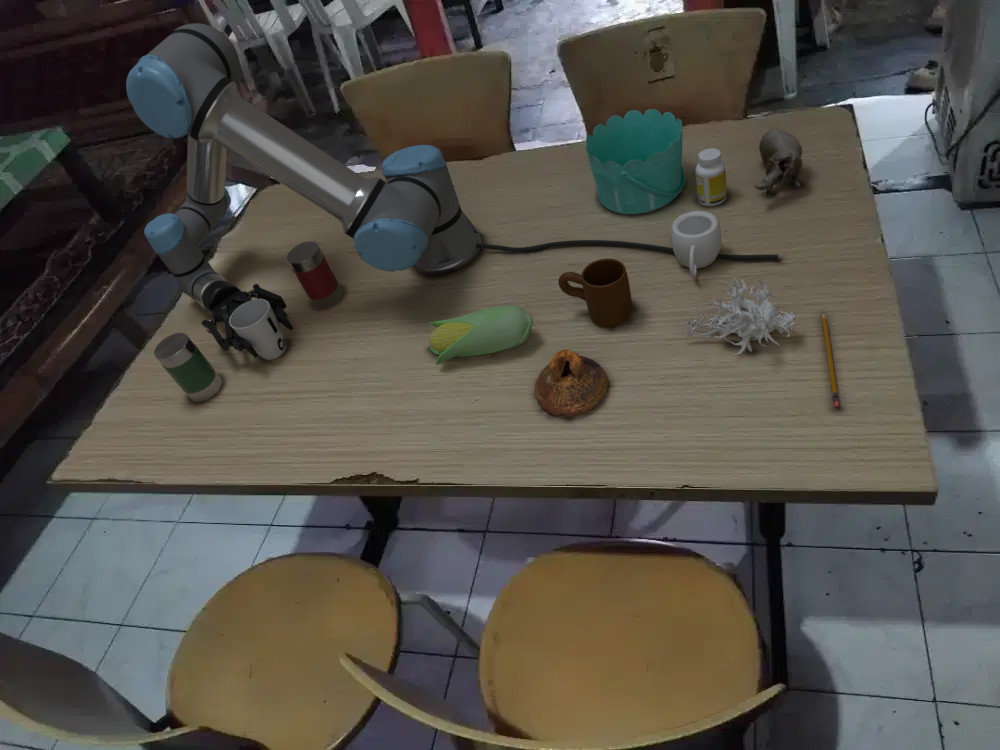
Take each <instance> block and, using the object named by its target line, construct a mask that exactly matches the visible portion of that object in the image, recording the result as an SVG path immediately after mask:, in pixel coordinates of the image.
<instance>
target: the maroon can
mask: <svg viewBox="0 0 1000 750" xmlns="http://www.w3.org/2000/svg"><path fill="white" fill-rule="evenodd" d="M286 260H287V262H288V264H289V266H290V267H291V269H292V272H293V273H294V275H295V277H296V279H297V280H298V282H299V284H300V286H301V287H302V289H303V290H304V292H305V294H306V296H307V297H308V299H309V300H310V302H311V304H312V305H313V306H314V307H315V308H316V309H327V308H330V307H332V306H334V305H336V304H337V303H338V302H339V301H340V300H341V299H342V297H343V289H342V288H341V286H340V284H339V281H338V279H337V277H336V275H335V273H334V271H333V269H332V267H331V265H330V264H329V262H328V260H327V258H326V256H325V255H324V253H323V252H322V249H321V248H320V246H319V244H318V243H317V242H315V241H305V242H302V243H299V244H297V245H296V246H294V247H292V248H291V249H290V251H288V253H287V255H286Z"/></svg>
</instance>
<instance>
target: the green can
mask: <svg viewBox="0 0 1000 750" xmlns="http://www.w3.org/2000/svg"><path fill="white" fill-rule="evenodd" d="M153 355H154V357H155V358H156V359H157V360H158V362H159V363H160V364H161V366H162V367H163V368H164V370H165V371H166V372H167V374H169V376H170V377H171V378H172V380H173V381H174V382H175V383H176V384H177V386H179V387H180V389H181V390H182V391H183V392H184V393H185V394H186V395H187V396H188V397H189V399H190V400H191V401H192V402H195V403H196V402H197V403H201V402H205V401H207V400H209V399H212V397H214V396H215V395H217V394H218V392H219V391H220V389H221V388H222V385H223V380H222V378H221V377H220V375H219V374H218V373H217V371H216V370H215V369H214V367H213V366H212V364H211V363H210V362H209V360H208V359H207V358H206V356H205V355H204V354H203V353H202V351H201V350H200V349H199V347H198V346H197V345H196V344H195V343H194V342H193V341H192V340H191V338H190V337H189V336H188V335H187V333H184V332H177V333H173V334H170V335H168V336H167V337H165V338H163V339H161V341H160V342H159V343H157V345H156V346H155V348H154V351H153Z"/></svg>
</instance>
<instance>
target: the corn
mask: <svg viewBox="0 0 1000 750" xmlns="http://www.w3.org/2000/svg"><path fill="white" fill-rule="evenodd" d="M428 324H429V325H431V326H433V327H436V328H435V329H434V330H433V331H432V332H431V333H430V335H429V338H428V341H429V343H430V347H429V350H430V352H432V353H433V354H434V355H437V356H438V357H437V360H436V363H435V364H436V366H438V365H441V364H443V363H445V362H447V361H448V360H450V359H453V358H455V357H457V356H458V357H469V356H479V355H480V356H481V355H489V354H493V353H499V352H504V351H507V350H510V349H514V348H516V347H518V346H521V345H522V344H524V343H526V342H527V340H528V339H529V337H530V335H531V331H532V328H533V325H534V319H533V317H532V315H530V314H529V313H528V311H527V310H526V309H525V308H524V307H521V306H519V305H513V304H508V305H500V306H499V305H498V306H493V307H487V308H484V309H479V310H476V311H473V312H470V313H467V314H464V315H460V316H457V317H453V318H446V319H442V320H441V319H440V320H437V321H429V322H428Z"/></svg>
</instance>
